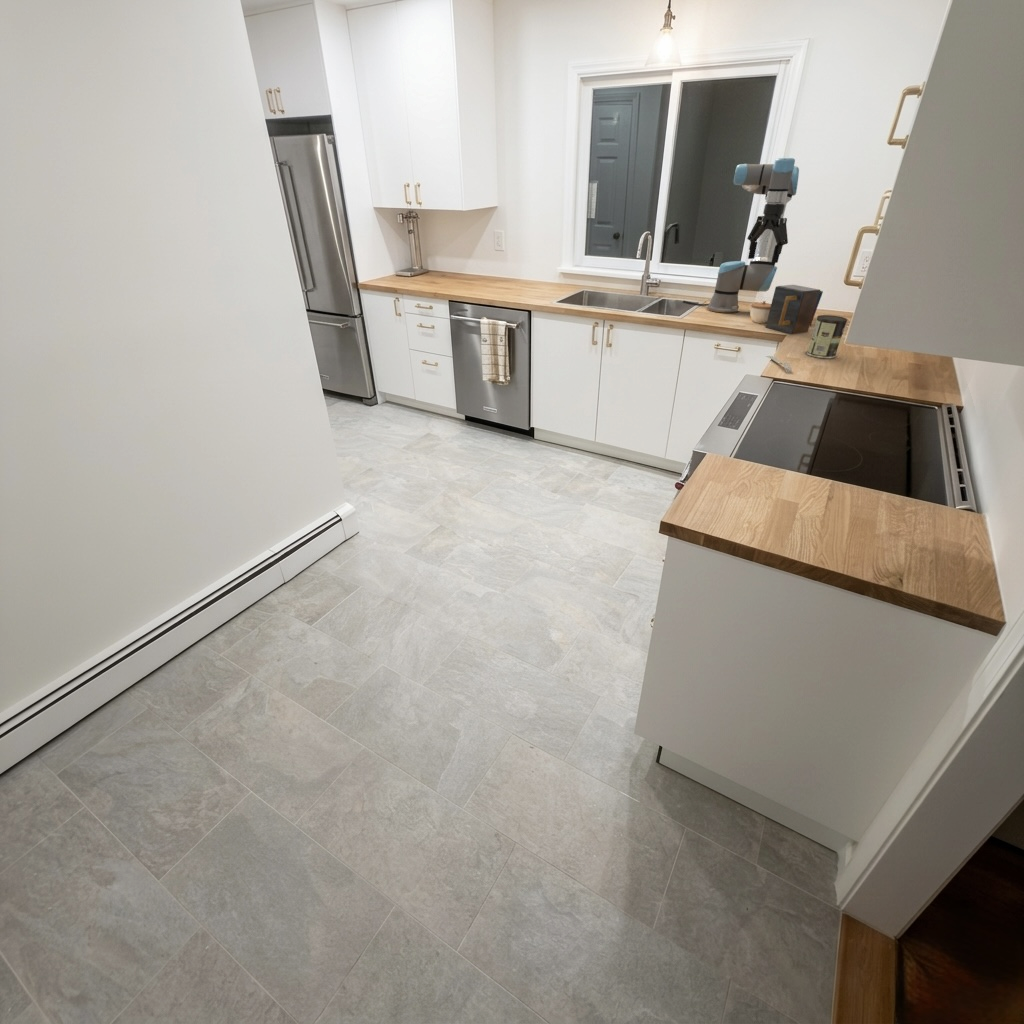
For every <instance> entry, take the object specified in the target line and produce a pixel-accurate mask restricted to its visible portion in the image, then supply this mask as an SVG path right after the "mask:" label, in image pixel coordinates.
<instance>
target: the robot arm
mask: <svg viewBox="0 0 1024 1024" xmlns="http://www.w3.org/2000/svg"><path fill="white" fill-rule="evenodd" d="M795 162H796V159H795V158H793V157H785V158H784V157H779V158H776V159H775V160H774V163H740V164H738V165H736V167H735V172H734V175H733V176H734V177H733V185H735V186H741V188H743V190H744V191H746V192H749V193H751V194H754V195H755V194H756V195H763V196H765V197H764V200H765V203H766V204H765V205H764V206H763V207H764V208H763V213H762V214H763V215H758V216H757V218H756V220H755V221H756V222H755V223H754V225H753V227H752V228H751V230H750V232H749V234H748V236H747V238H746V239H747V240H748V241H749V242H750V243H749V248H748V250H749V251H748V256H747V259H748V260H750V261H749V264H746V261H743V260H734V261H733V260H732V261H727V262H723V263H721V264H720V266H719V269H718V272H717V277H716V283H715V287H714V292H713V295H712V297H711V299H710V301H709V303H697V302H692V301H688V300H683V301H682V302H683V303H685V304H689V305H694V306H699V307H707V310H708V311H710V312H714V313H722V314H734V313H735V314H736V313H738V312H739V308H740V306H739V293H740V292H739V291H749V292H761V293H762V292H767V291H769V290H770V288H771V286H772V283H773V280H774V278H775V275H776V273H777V270H778V266H776V264H777V263H778V262H779V258H780V256H781V254H782V250H783V246H784V245H787V244H788V243H789V239H788V229H787V228H788V227H787V222H788V218H787V217H784V216H785V212H786V207H787V204H788V203H789V202H790V201H792V198H793V197H794V196H796V194H797V189H798V183H799V177H800V176H799V175H800V174H799V173H800V168H799V166H795V164H796V163H795Z"/></svg>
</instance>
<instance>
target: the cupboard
mask: <svg viewBox="0 0 1024 1024" xmlns="http://www.w3.org/2000/svg"><path fill="white" fill-rule="evenodd" d="M777 286H778V287H783V288H788V289H793V290H798V291H803V292H804V294H803V297H802V301H801V304H800V308H799V311H798V315H797V318H796V322H795V325H794V329H793V332H792V334H791V335H795V334H803V333H808V332H809V329H810V326H811V325H810V323H811V319H812V316H813V313H814V309H815V306H816V303H817V299H818V296H819V293H820V291H821V289H819V288H813V287H809V286H803V285H799V284H798V285H797V284H786V285H777ZM811 324H812V323H811Z"/></svg>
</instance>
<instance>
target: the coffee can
mask: <svg viewBox="0 0 1024 1024" xmlns="http://www.w3.org/2000/svg"><path fill="white" fill-rule="evenodd" d="M847 322H848V318H846V317H844V316H839V315H832V314H820V315H817V316H816V321H815V324H814V326H813V327H814V328H813V330H812V335H811V337H810V341H809V344H808V348H807V351H806V354H807V356H810V357H813V358H818V359H828V360H829V359H834V358H836V355H837V352H838V349H839V346H840V343H841V340H842V337H843V334H844V331H845V327H846V324H847Z"/></svg>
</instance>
